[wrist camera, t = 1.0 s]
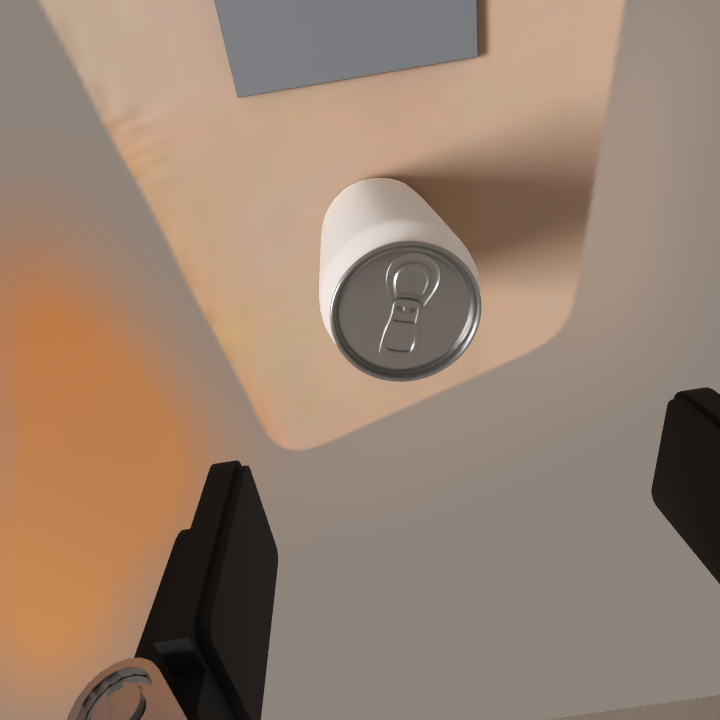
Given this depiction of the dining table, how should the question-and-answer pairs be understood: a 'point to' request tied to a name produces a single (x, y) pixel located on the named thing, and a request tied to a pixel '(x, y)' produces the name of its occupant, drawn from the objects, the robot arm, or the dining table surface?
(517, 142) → the dining table surface
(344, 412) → the dining table surface
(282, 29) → the mat
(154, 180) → the dining table surface
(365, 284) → the can
